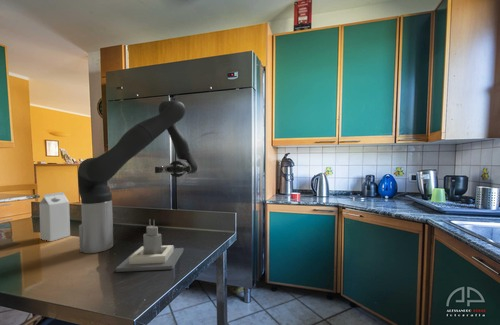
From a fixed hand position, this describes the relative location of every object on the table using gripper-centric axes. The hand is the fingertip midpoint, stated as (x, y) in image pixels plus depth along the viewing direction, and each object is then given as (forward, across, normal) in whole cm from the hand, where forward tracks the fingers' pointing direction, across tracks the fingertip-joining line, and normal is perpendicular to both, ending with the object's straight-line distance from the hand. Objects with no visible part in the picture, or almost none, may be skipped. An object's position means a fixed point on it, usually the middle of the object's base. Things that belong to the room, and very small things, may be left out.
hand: (168, 170), depth 88 cm
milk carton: (-8, -50, +28) cm, 58 cm away
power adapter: (+18, 0, +27) cm, 33 cm away
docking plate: (+18, 0, +28) cm, 33 cm away
